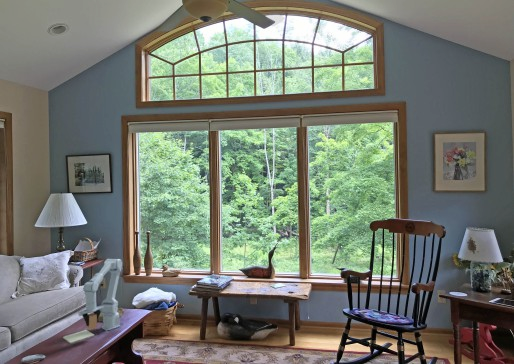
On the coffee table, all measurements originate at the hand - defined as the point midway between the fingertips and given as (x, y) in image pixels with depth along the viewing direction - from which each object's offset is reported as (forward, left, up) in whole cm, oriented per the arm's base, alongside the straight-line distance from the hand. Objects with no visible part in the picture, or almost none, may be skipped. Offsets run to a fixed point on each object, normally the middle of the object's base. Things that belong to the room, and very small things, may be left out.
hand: (91, 324), depth 223 cm
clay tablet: (-25, -27, -10) cm, 38 cm away
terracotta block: (0, 0, -2) cm, 2 cm away
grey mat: (+4, -10, -9) cm, 14 cm away
